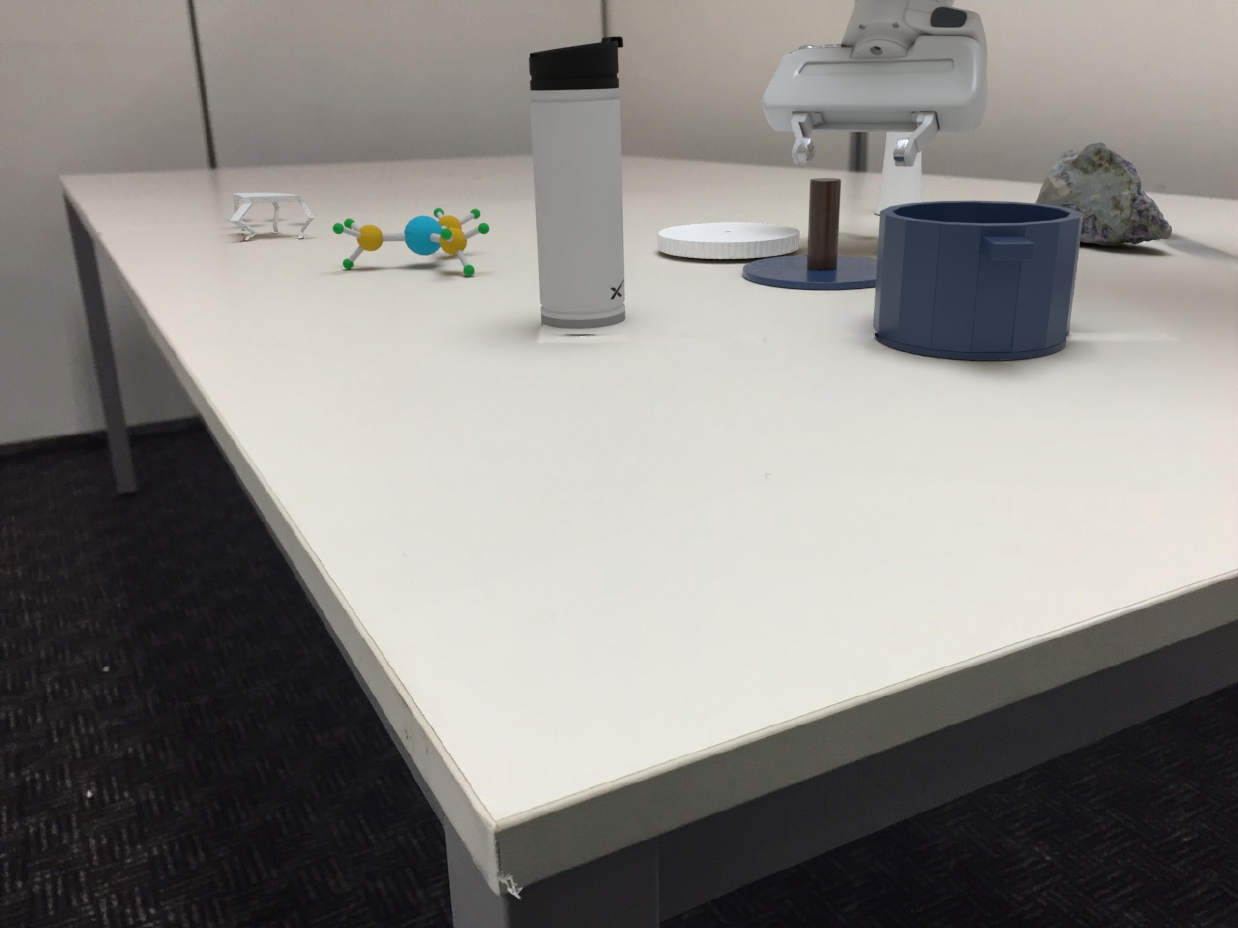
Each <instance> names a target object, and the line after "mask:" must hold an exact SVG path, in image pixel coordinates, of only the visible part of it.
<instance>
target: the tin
mask: <svg viewBox="0 0 1238 928" xmlns="http://www.w3.org/2000/svg"><path fill="white" fill-rule="evenodd" d="M1083 215H1084V214H1083V213H1081V212H1079V211H1076V210H1074V209H1071V208H1066V207H1060V206H1054V205H1047V204H1036V202H1034V203H1033V202H1022V201H1006V200H1003V201H1002V200H936V201H935V200H934V201H923V202H920V203H908V204H902V205H896V206H890V207H888V208H886V209H884V210H882V211H880V215H879V222H878V224H879V225H878V237H877V238H878V241H877V257H876V259H877V272H876V286H875V287H874V288H875V290H874V291H875V292H874V307H873V322H872V325H873V328H874V330H875V331H876V332H874V333H873V334H874V338H875V339H876V340H877V341H878V342H880V343H882V344H883V345H885V346H887V347H890V348H893V349H895V350H899V351H902V352H906V353H910V354H916V355H920V356H926V357H933V358H939V359H940V358H941V359H949V360H961V361H1014V360H1026V359H1033V358H1038V357H1039V358H1040V357H1044V356H1048V355H1051V354H1054V353H1057V352H1059V351H1061V350H1062V349H1064V348H1065V347H1066V345H1067V342H1068V341H1067V339H1068V335H1069V333H1070V325H1071V319H1072V312H1073V311H1072V309H1073V303H1074V296H1075V295H1074V293H1075V286H1076V279H1077V278H1076V277H1077V270H1078V262H1079V253H1080V245H1081V241H1080V239H1081V231H1082V223H1083Z"/></svg>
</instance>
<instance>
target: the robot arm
mask: <svg viewBox="0 0 1238 928" xmlns="http://www.w3.org/2000/svg"><path fill="white" fill-rule="evenodd" d="M955 1H956V0H856V2H855V4H854V7H853V9H852V12H851V15H850V17H849V21H848V23H847V26H846V29H845V31H844V34H843V37H842V40H841V43H829V44H823V45H813V44H805V45H801V46H799V47H798V49H795V50H793V51H791V52H789V53H786V54H784V55H783V56H782V58H781V59H780V62H779V65H778V67H777V69H776V71H775V72H774V74H773V76H772V77H771V79H770V81H769V83H768V85H767V87H766V89H765V91H764V93H763V94H762V95H763V96H762V98H761V108H762V111H763V114H764V117H765V119H766V121H767V123H768V125H769V126H770V128H771V129H772V130H773V131H775V132H793V135H794V139H795V141H794V144H793V147H792V149H791V158H792V160H793V163H794V164H795V165H811V164H812V162H813V158H814V157H815V155H816V152H817V151H816V148H815V146H814V145H813V144H814V142H813V139H812V137H811V136H812V134H813V132H816V133H817V132H819V133H820V132H821V133H822V132H824V133H825V132H826V133H827V132H829V133H843V132H844V133H887V132H913V133H912V134H911V135H910V136H909V137H908V138H907V139H898V140H897V143H896V148H895V149H894V153H893V158H894V160H895V166H903V167H912V166H913V165H914V162H915V158H916V155H917V153H919V152H920V151H922V152H923V151H924V149H925V148H926V147H927V146H929V145H930V144H931V143H932V142H933V141H935V140H936V138H937V137H936V136H937V133H947V134H948V133H952V134H953V133H955V134H956V133H958V134H959V133H960V134H967V133H971V132H973V131H974V130H976V129H977V128H978V127H980V126H981V125H982V124H983V122H984V119H985V115H986V110H987V104H988V97H989V96H988V95H989V85H988V84H989V83H988V74H987V70H988V46H987V39H986V33H985V28H984V25H983V21H982V17H981V15H980V14H979V13H978V12H976V11H973V10H969V9H963V8H959V7H958V8H957V7H956V6H955V7H954V6H953V5H954V3H955Z"/></svg>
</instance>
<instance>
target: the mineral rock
mask: <svg viewBox="0 0 1238 928" xmlns="http://www.w3.org/2000/svg"><path fill="white" fill-rule="evenodd" d="M1035 203H1036V204H1047V205H1054V206H1060V207H1066V208H1071V209H1074V210H1076V211H1079V212H1081V213H1083V214H1084V215H1083V223H1082V231H1081V239H1080V243H1087V244H1097V245H1100V246H1107V247H1111V246H1119V245H1123V244H1132V245H1139V244H1141V243H1144V242H1146V243H1148V242H1149V243H1150V242H1151V241H1157V240H1158V241H1159V240H1168V239H1170V237H1171V236H1172V233H1173V228H1172V225H1170V223H1169V221H1168V220H1166V219H1165V218H1164V214H1163V213H1162V212H1161V211H1160V208H1159V206H1158V204H1156V202H1155V201H1154V200H1153V199H1152V198H1151V197H1150V196H1148V194H1147V193H1146V192H1145V190H1143V189H1142V182H1141V179H1140V176H1139V175H1138V172H1137V169H1136V167H1135V166H1134V165H1133V163H1132V162H1130V161H1128V160H1126V159H1125V158H1124V157H1123V156H1121V155H1120V154H1119V153H1117V151H1115V150H1112V149H1110V148H1109V147H1108V145H1106V143H1104V142H1102V141H1099V142H1094V143H1090V144H1087V145H1086V146H1085V147H1084V148H1083V149H1082V150H1081V151H1079V150H1073V149H1067V150H1065V151H1063V153H1062V154H1061V155H1060V156H1059V157H1058V159H1057V161H1056V162H1055V163H1054V164H1053V166H1052V167H1051V169H1050V170H1049V172H1048V173H1047V175H1046V177H1045V178H1044V181H1043V183H1042V184H1041V187H1040V190H1039V193H1038V195H1037V199H1036V200H1035Z"/></svg>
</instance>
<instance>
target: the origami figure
mask: <svg viewBox="0 0 1238 928" xmlns="http://www.w3.org/2000/svg"><path fill="white" fill-rule="evenodd" d="M231 195H232V201H233V210H234V214H233V215H232V216H231V218H230V219H229V222H230V223H232V224H234V225H235V226H237V227H239V228H241V231H245V232H248V233H249V234H248V235H247V236H245V237H251V238H253V237H254V236H255V235H256V234H258V231H257V230H255V229H254V228H252V227H251V226H250V225H248V224H247V223H246V222H244V221H243V217H244V216H245V215H246V214H247V213H248V211H249V210H250V209H251V208H252V206H253V205H254V204H264V203H265V204H266V203H271V205H272V206H273V209H274V210H273V221H272V229H273V233H274V232H278V233H279V229H278V226H279V225H278V224H279V217H280V210H281V207H280V206H279V204H278V203H290V202H291V203H292V202H294V203H295V202H298V203H299V205H300V206H301V207H302V209H303V211H304V212H305V214H306V216H307V219H306V221H305V222H304V224H303V226H302V227H301V228H300V230H299V235H298V239H299V238H303V239H304V231H305V230H306V229H307V227H308V226H309V225H310V224H311V223H312V221H313V220H314V219H315V216H314V214H313V213H312V212H311V210H310V208H309V207H308V205H307V204H306V202H305V201H304V199H303V198H302V197H301V196H300V195H299V194H294V193H285V192H284V193H282V192H236V193H232V194H231ZM239 202H241V205H239Z"/></svg>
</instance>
